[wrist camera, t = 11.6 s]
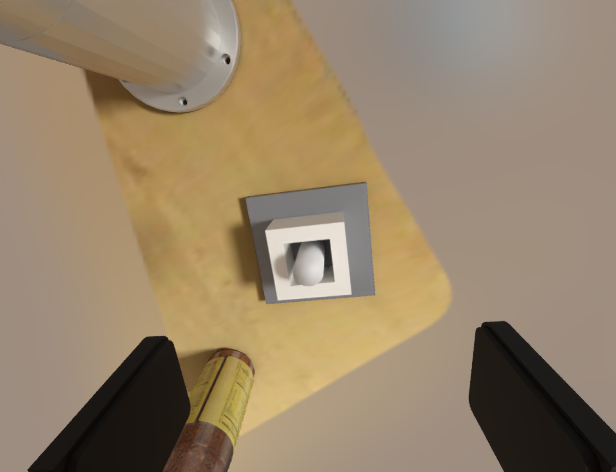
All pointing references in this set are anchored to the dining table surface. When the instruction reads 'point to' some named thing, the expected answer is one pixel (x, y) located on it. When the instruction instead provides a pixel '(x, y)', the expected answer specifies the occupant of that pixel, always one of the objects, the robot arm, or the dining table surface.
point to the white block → (301, 231)
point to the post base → (313, 207)
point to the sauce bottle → (214, 415)
